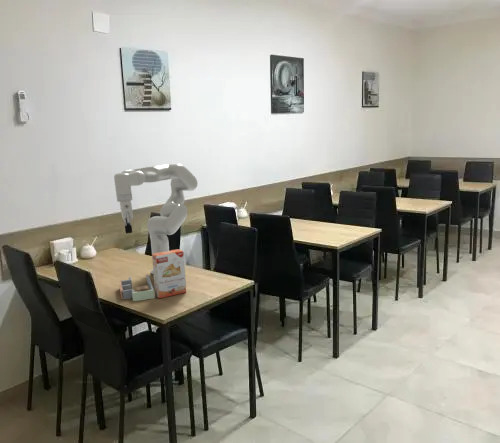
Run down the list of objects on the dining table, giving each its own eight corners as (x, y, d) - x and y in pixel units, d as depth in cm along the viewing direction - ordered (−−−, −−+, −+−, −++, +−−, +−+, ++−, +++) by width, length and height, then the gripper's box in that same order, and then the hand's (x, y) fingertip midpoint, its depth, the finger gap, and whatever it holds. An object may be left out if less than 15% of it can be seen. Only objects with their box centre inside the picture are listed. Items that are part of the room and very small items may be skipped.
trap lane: (148, 282, 253) (148, 274, 252) (154, 298, 228) (154, 289, 227) (119, 286, 249) (118, 278, 248) (122, 302, 224) (121, 294, 223)
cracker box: (159, 299, 226) (155, 255, 222) (155, 295, 231) (151, 253, 227) (187, 292, 233) (183, 250, 229) (182, 289, 238) (178, 248, 234)
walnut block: (148, 295, 233) (147, 285, 232) (149, 298, 228) (148, 288, 227) (137, 296, 231) (136, 286, 230) (138, 300, 227) (137, 289, 226)
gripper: (134, 198, 239) (138, 234, 243) (130, 194, 252) (134, 229, 256) (118, 200, 236) (123, 236, 240) (115, 196, 250) (119, 231, 254)
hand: (129, 232), depth 248 cm, fingers closed
